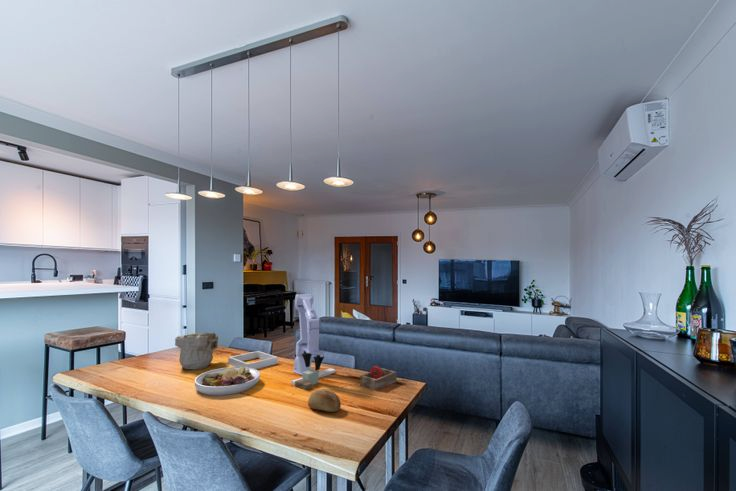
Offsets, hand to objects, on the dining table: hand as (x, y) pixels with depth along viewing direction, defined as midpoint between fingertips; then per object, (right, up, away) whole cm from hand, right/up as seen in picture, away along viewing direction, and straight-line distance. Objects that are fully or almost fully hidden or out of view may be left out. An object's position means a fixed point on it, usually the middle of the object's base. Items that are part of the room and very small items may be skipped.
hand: (312, 368), depth 171 cm
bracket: (+34, -8, 0) cm, 35 cm away
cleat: (-3, -7, -7) cm, 10 cm away
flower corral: (-41, -8, +30) cm, 52 cm away
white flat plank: (0, -8, +7) cm, 10 cm away
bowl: (-41, -7, -6) cm, 42 cm away
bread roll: (+10, -6, -32) cm, 34 cm away
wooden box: (+34, -8, 0) cm, 35 cm away
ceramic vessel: (-72, -8, +25) cm, 77 cm away
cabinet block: (-1, -7, -2) cm, 7 cm away
